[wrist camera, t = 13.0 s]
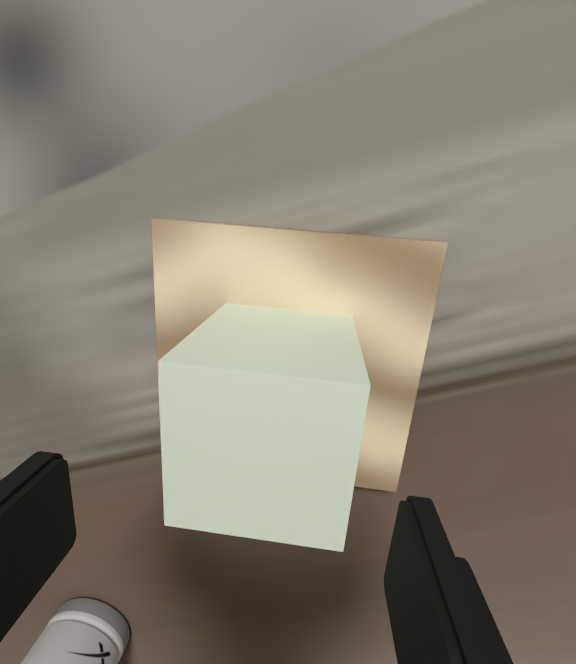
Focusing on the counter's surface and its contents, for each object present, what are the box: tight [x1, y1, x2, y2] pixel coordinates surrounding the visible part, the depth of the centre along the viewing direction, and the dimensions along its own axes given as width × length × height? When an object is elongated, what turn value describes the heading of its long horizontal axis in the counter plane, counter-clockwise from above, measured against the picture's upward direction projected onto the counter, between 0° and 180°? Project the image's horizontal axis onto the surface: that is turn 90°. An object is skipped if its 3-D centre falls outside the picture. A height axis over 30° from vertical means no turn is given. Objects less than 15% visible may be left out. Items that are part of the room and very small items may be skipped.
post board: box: [152, 219, 448, 492], centre depth 17 cm, size 14×14×8 cm
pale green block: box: [158, 303, 371, 552], centre depth 15 cm, size 6×6×8 cm
